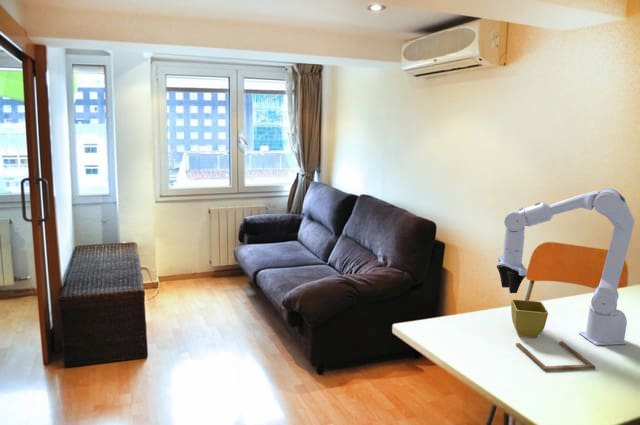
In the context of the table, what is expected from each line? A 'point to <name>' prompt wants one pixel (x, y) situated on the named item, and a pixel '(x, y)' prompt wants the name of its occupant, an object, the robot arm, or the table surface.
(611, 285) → the robot arm
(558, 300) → the table surface
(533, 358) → the brown wooden open-sided frame
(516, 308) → the flower pot
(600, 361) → the table surface
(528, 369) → the table surface
